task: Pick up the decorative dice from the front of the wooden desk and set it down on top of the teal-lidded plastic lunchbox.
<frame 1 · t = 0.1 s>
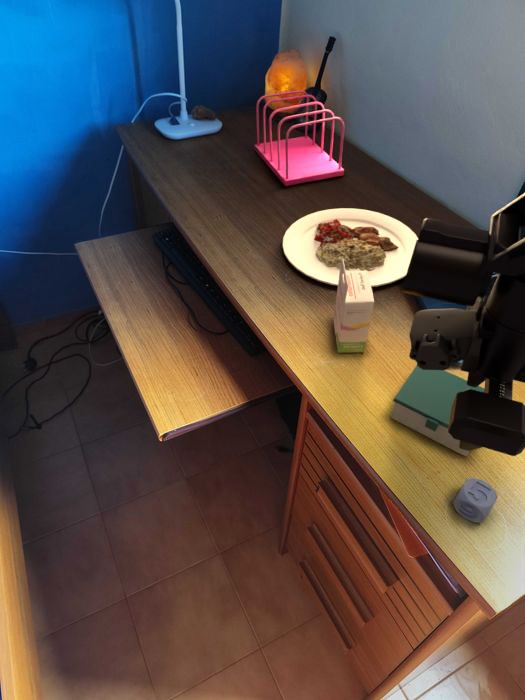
hand: (468, 415, 52), 16 cm above the table, tool pointing down, fingers open, 9 cm apart
plated food: (350, 251, 103), on the table
lunchbox: (438, 416, 72), on the table
decorative dice: (469, 507, 62), on the table
ink box: (348, 337, 85), on the table
file sorter: (297, 163, 134), on the table
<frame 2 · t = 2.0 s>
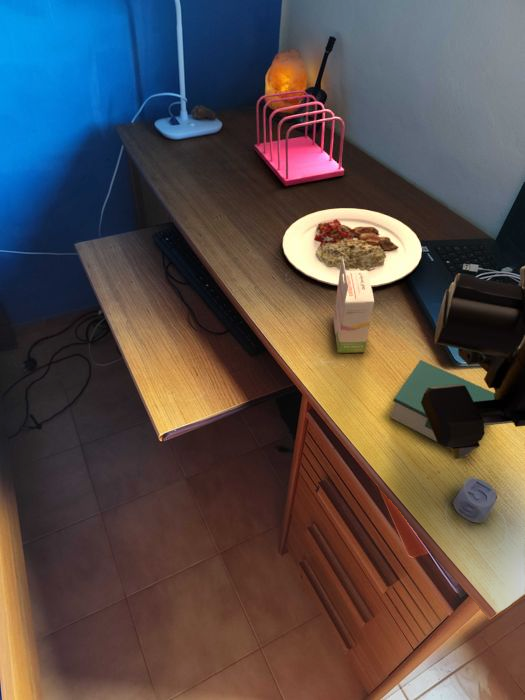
hand: (493, 451, 53), 13 cm above the table, tool pointing down, fingers open, 9 cm apart
nothing on the table moved.
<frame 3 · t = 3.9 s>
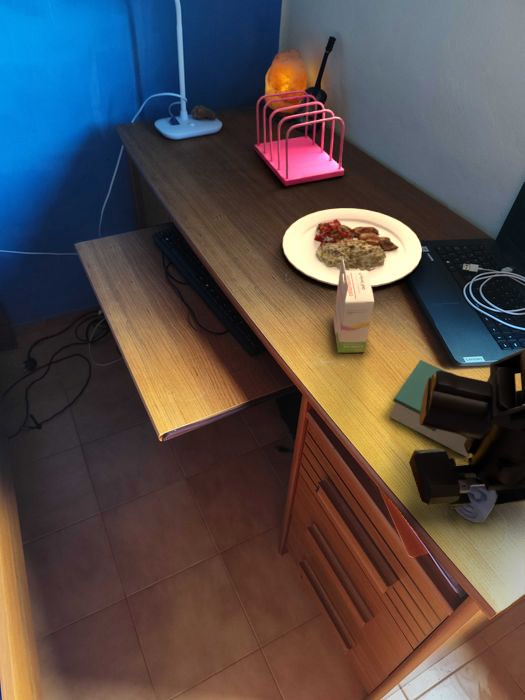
hand: (472, 503, 61), 1 cm above the table, tool pointing down, fingers closed on decorative dice, 5 cm apart
decorative dice: (469, 507, 62), on the table, touching gripper
everything else where it was.
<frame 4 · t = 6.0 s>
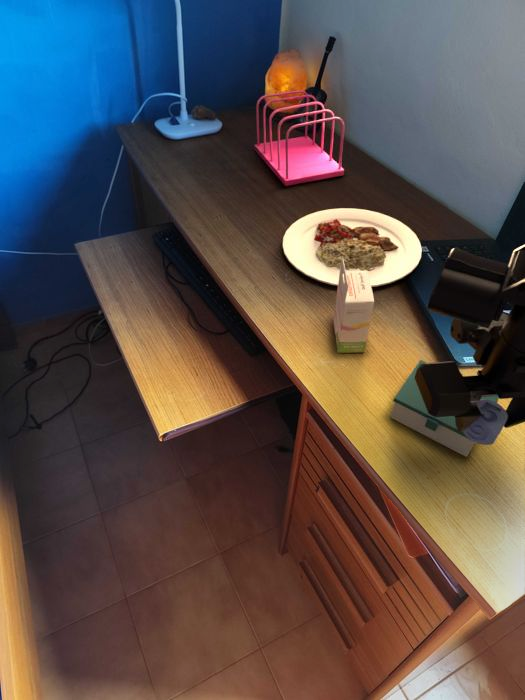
hand: (481, 426, 57), 11 cm above the table, tool pointing down, fingers closed on decorative dice, 5 cm apart
decorative dice: (478, 431, 58), point 10 cm above the table, touching gripper
everything else where it was.
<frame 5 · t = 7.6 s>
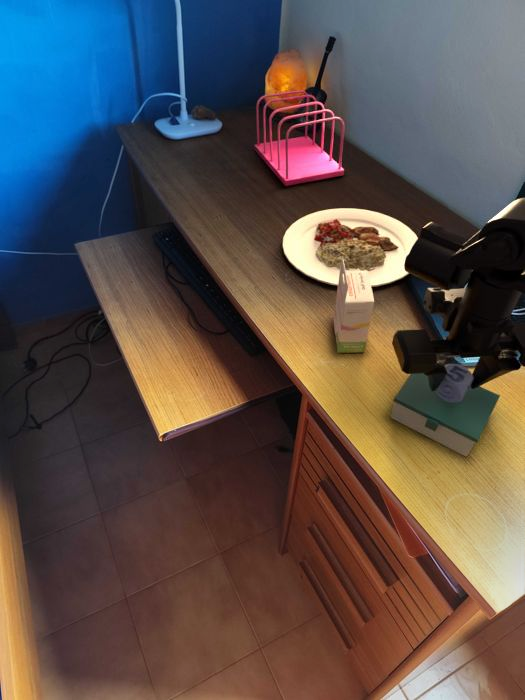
hand: (451, 387, 67), 7 cm above the table, tool pointing down, fingers closed on decorative dice, 5 cm apart
decorative dice: (449, 392, 67), point 6 cm above the table, touching gripper
everything else where it was.
when the fingers open (6 cm above the table, at t = 8.4 s): decorative dice stays where it is, resting on lunchbox.
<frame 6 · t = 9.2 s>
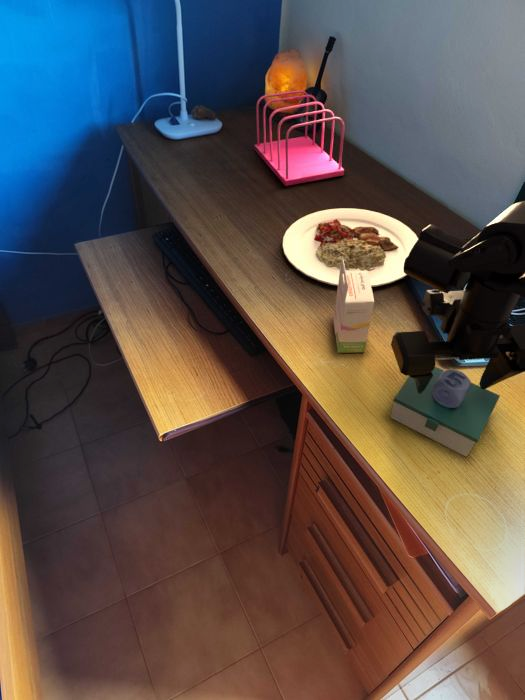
hand: (450, 388, 67), 7 cm above the table, tool pointing down, fingers open, 9 cm apart
decorative dice: (447, 398, 68), point 5 cm above the table, touching lunchbox
everything else where it was.
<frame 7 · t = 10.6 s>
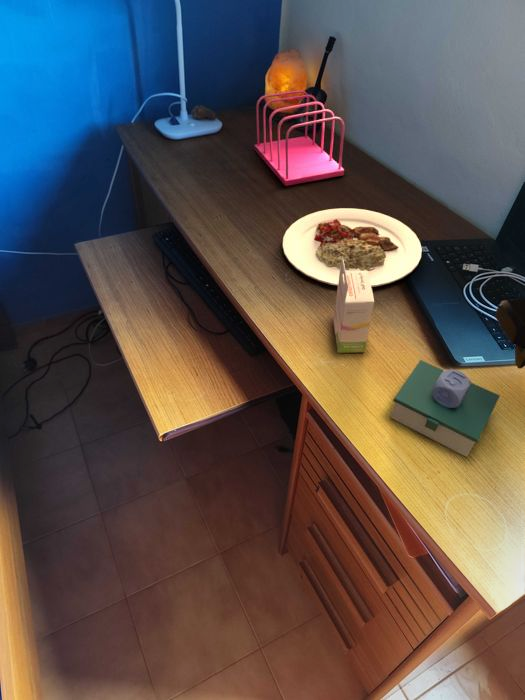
nothing on the table moved.
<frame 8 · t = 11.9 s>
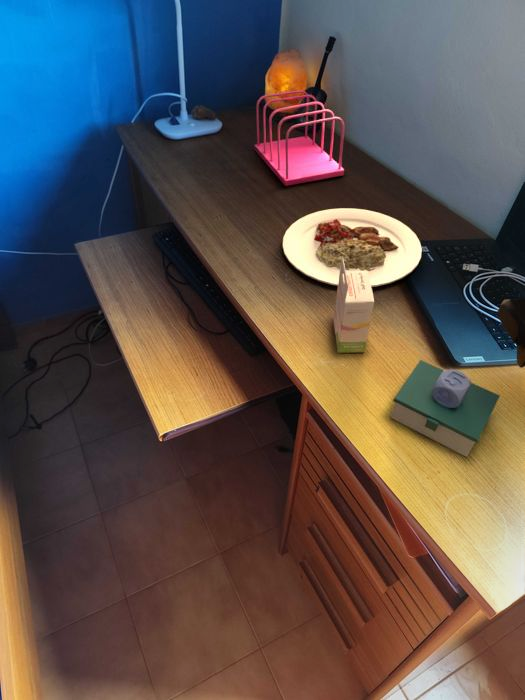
nothing on the table moved.
at the end: decorative dice inside the target area on the lunchbox (0.1 cm from its centre), point 4.8 cm above the lunchbox's base; the gripper is holding nothing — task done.
